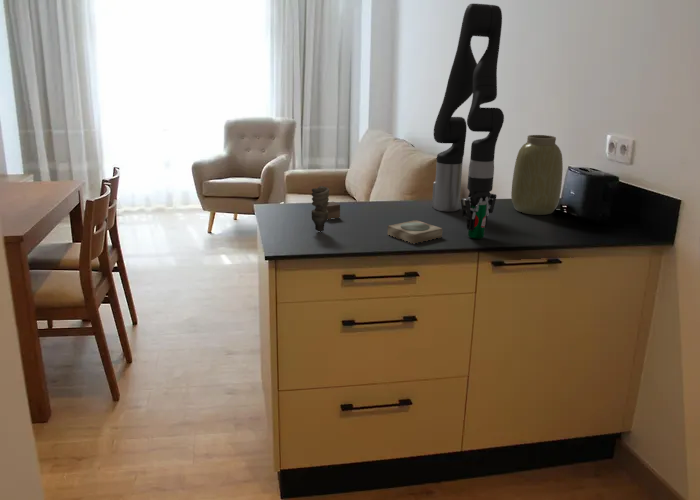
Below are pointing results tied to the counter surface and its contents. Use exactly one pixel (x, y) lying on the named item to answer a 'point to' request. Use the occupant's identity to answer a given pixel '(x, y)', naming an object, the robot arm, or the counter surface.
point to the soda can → (479, 222)
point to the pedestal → (414, 231)
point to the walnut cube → (333, 210)
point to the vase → (537, 176)
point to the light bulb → (320, 207)
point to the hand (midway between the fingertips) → (476, 228)
